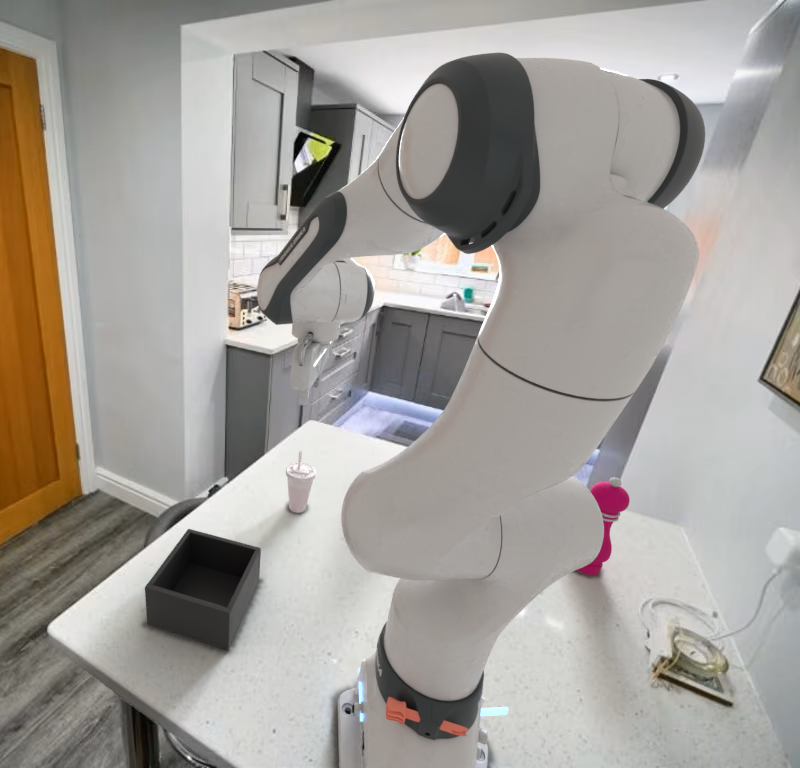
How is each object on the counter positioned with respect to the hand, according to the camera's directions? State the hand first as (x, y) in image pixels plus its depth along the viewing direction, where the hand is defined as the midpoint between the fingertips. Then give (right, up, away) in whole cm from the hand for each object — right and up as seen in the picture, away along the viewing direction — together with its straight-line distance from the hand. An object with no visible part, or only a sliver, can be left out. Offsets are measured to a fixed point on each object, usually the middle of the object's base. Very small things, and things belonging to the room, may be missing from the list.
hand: (309, 394), depth 86 cm
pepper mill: (+55, -24, -4) cm, 60 cm away
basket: (-18, -34, -14) cm, 41 cm away
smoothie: (-2, -25, +10) cm, 28 cm away
